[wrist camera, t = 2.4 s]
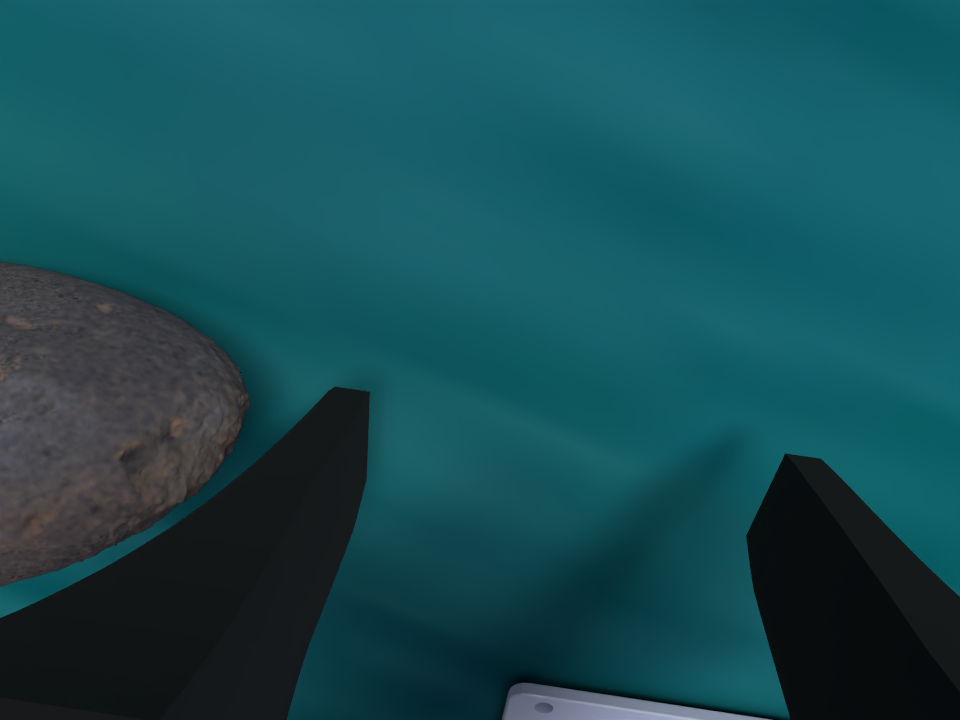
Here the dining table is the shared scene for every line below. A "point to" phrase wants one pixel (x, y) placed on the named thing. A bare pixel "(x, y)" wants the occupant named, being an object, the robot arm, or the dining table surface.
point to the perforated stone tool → (100, 417)
